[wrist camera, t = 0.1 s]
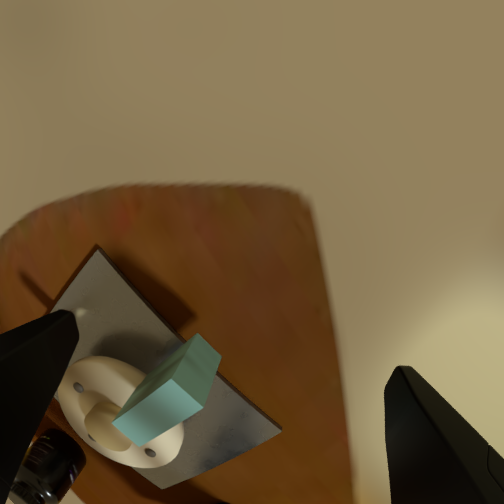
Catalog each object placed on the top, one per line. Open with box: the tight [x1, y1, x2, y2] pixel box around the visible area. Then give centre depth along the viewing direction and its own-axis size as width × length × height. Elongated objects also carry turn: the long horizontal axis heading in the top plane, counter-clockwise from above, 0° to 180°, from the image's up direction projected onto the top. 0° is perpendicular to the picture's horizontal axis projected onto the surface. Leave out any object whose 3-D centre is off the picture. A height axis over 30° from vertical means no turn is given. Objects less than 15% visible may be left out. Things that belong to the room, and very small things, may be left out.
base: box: [50, 248, 282, 489], centre depth 23 cm, size 18×22×6 cm
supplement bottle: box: [8, 429, 86, 504], centre depth 24 cm, size 7×7×12 cm
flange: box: [58, 333, 222, 468], centre depth 20 cm, size 18×12×6 cm
